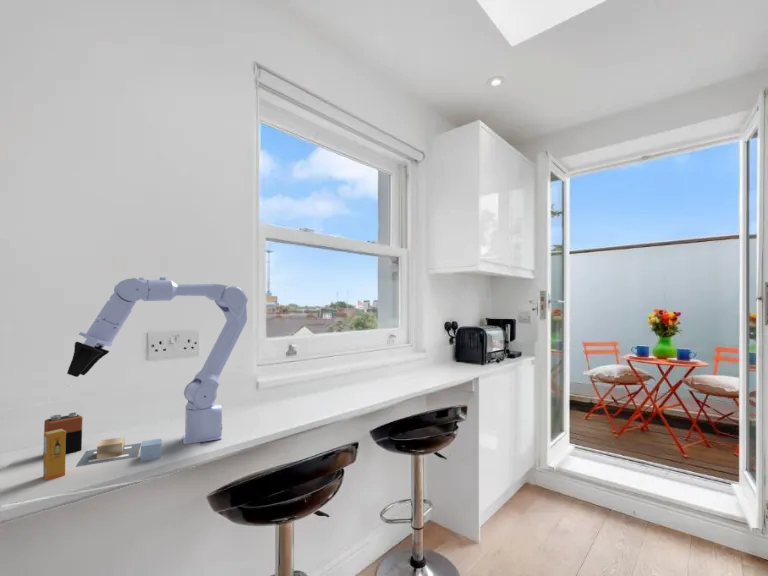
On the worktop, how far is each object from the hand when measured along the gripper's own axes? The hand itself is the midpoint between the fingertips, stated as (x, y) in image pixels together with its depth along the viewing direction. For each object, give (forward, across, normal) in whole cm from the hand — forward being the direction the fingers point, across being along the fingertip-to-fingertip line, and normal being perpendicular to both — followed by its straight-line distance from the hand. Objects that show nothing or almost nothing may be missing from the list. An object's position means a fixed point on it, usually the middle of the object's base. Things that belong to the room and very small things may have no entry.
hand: (75, 374), depth 90 cm
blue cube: (+12, +2, +24) cm, 27 cm away
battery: (+20, -12, +5) cm, 24 cm away
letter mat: (+16, -5, +15) cm, 22 cm away
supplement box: (+21, +4, +8) cm, 22 cm away
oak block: (+15, -5, +15) cm, 22 cm away
